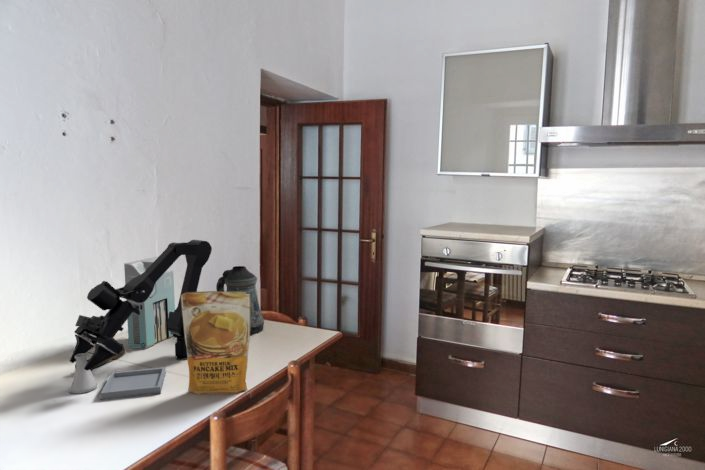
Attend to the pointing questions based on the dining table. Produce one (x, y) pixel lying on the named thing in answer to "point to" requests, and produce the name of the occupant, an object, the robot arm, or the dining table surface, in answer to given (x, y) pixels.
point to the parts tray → (134, 383)
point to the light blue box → (150, 307)
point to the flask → (82, 376)
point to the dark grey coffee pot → (246, 282)
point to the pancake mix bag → (217, 340)
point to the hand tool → (109, 358)
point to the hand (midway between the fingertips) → (78, 365)
